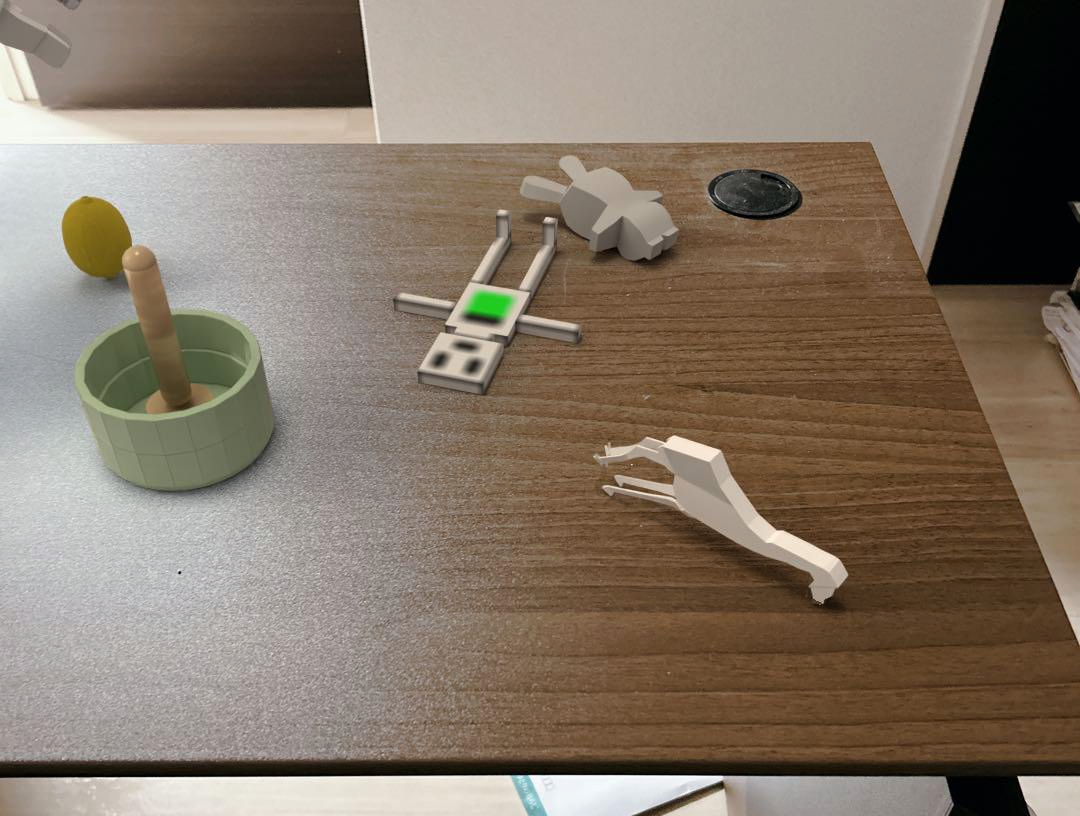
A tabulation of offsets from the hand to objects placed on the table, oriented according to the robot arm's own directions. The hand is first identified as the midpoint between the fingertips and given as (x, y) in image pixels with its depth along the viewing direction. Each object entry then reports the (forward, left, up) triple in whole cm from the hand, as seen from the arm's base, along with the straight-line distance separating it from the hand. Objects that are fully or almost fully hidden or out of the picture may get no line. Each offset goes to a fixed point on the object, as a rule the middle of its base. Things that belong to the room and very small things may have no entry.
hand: (74, 26), depth 77 cm
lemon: (-7, +7, -25) cm, 27 cm away
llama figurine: (+46, -21, -25) cm, 56 cm away
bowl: (+6, -13, -25) cm, 29 cm away
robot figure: (+28, +5, -25) cm, 38 cm away
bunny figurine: (+37, +19, -25) cm, 49 cm away
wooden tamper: (+6, -13, -25) cm, 28 cm away
